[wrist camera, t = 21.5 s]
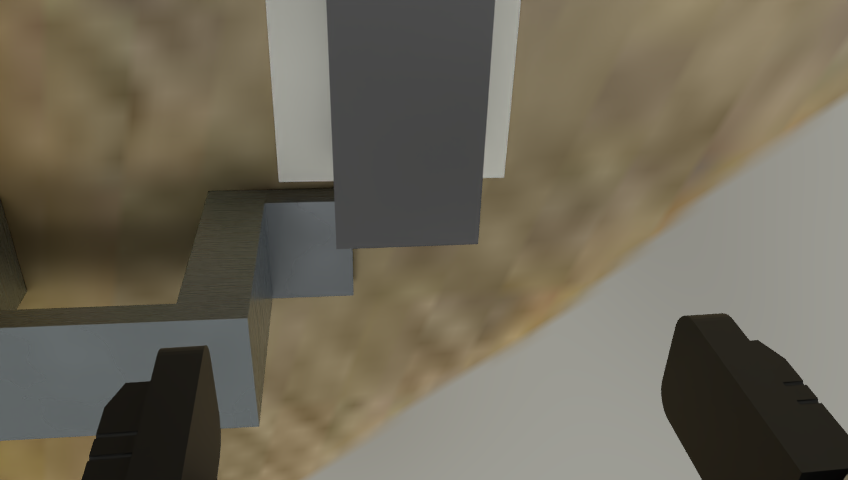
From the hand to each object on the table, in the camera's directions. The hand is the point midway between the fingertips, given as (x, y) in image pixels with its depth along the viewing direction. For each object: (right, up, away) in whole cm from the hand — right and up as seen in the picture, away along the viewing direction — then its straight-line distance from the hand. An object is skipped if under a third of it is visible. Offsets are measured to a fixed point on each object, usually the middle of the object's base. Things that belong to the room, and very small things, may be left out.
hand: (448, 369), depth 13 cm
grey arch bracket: (-12, +2, +14) cm, 19 cm away
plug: (-1, +9, +11) cm, 14 cm away
